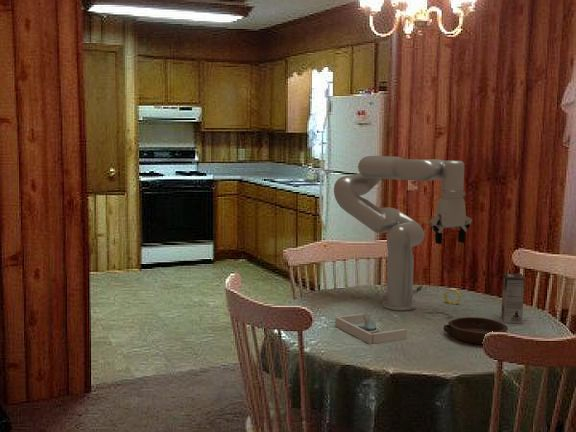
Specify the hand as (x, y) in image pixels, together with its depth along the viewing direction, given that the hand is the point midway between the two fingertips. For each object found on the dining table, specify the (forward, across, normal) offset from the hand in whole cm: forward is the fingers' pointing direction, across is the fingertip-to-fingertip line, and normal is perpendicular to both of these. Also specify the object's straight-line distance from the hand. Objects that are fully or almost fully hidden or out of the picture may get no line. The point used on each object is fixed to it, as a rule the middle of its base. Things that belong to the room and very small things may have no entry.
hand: (450, 243), depth 234 cm
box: (+26, +36, +9) cm, 46 cm away
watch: (+27, -12, -14) cm, 32 cm away
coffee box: (+27, -18, +13) cm, 35 cm away
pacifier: (+27, +36, +8) cm, 46 cm away
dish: (+27, +7, +27) cm, 39 cm away
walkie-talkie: (+27, -5, -36) cm, 45 cm away
